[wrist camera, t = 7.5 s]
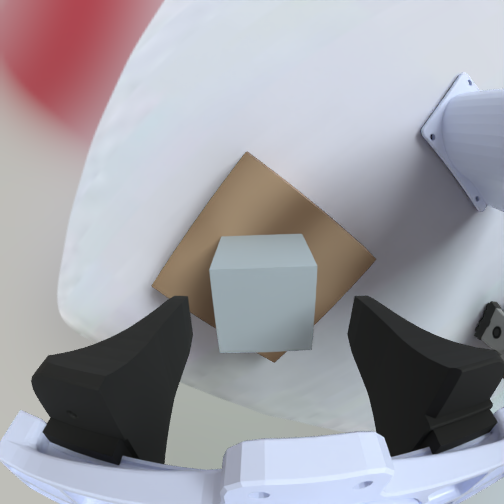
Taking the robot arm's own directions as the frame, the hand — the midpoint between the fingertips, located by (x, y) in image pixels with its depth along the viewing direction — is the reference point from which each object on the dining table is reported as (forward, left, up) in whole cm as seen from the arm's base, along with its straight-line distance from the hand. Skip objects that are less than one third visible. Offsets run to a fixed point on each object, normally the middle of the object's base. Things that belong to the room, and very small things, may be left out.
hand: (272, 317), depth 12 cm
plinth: (0, +1, -9) cm, 9 cm away
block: (0, +1, -7) cm, 7 cm away
